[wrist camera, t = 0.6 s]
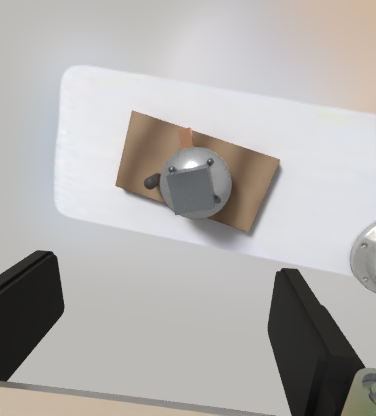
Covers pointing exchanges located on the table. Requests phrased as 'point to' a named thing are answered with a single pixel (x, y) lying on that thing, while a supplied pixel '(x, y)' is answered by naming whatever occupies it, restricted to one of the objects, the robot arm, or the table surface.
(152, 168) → the base board
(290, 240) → the table surface
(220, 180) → the flange plate
